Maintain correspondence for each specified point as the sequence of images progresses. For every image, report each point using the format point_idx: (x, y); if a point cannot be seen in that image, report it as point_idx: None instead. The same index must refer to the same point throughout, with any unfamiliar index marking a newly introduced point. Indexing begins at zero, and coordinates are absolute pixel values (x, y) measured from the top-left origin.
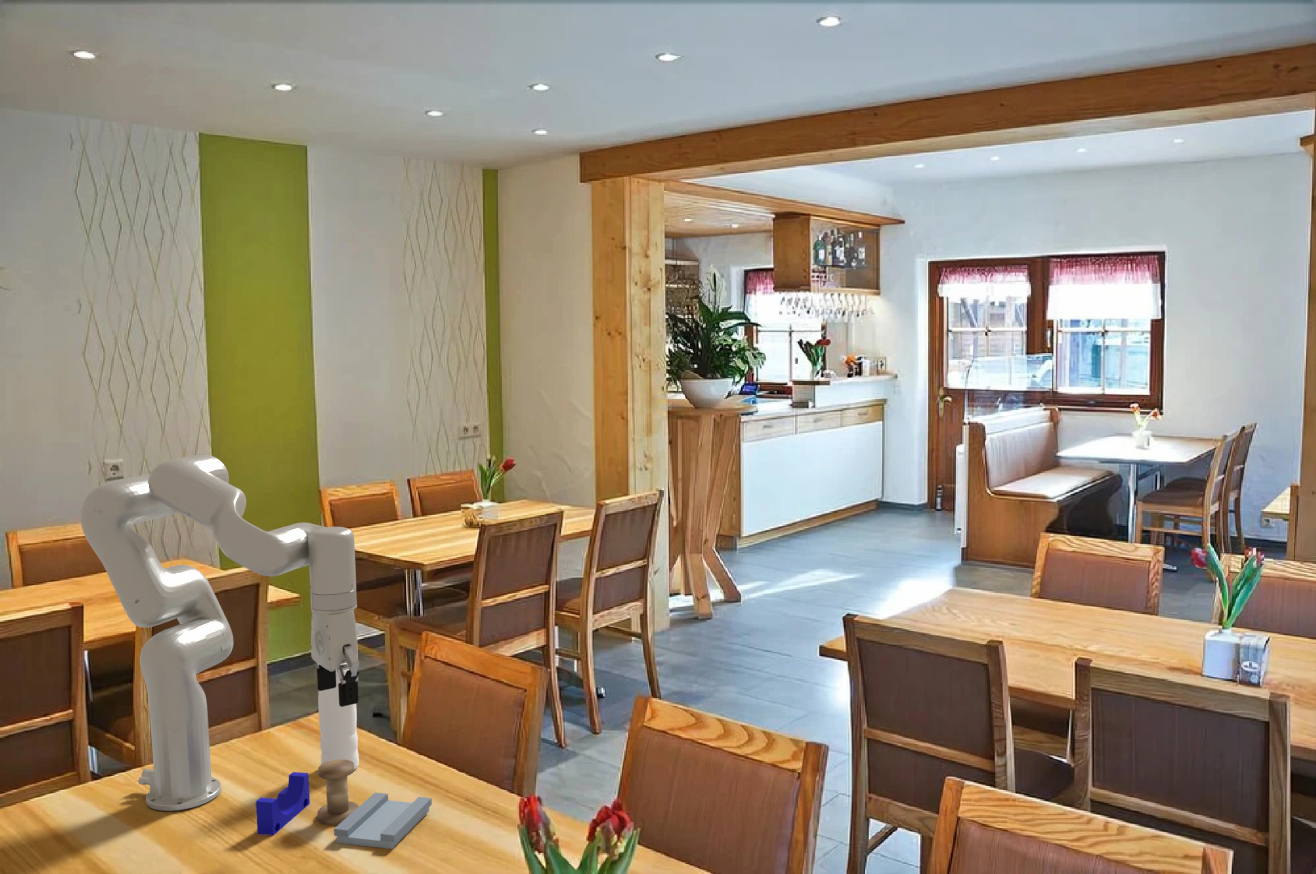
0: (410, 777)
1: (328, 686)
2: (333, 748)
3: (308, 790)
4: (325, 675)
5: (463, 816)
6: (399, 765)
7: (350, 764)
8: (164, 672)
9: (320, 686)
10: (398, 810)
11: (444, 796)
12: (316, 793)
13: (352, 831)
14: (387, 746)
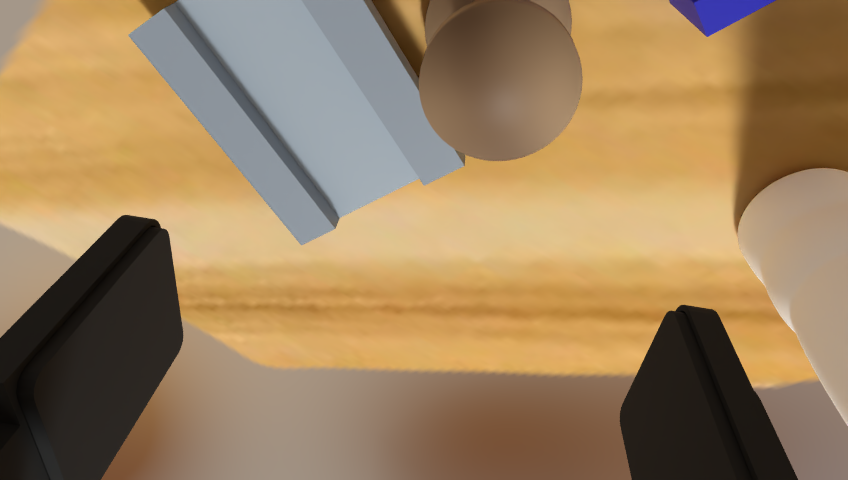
0: (546, 301)
1: (645, 385)
2: (815, 233)
3: (683, 12)
4: (685, 472)
5: (231, 253)
6: (641, 325)
7: (467, 141)
8: None
9: (678, 342)
10: (337, 157)
11: (369, 288)
12: (721, 66)
13: None
14: (781, 372)
